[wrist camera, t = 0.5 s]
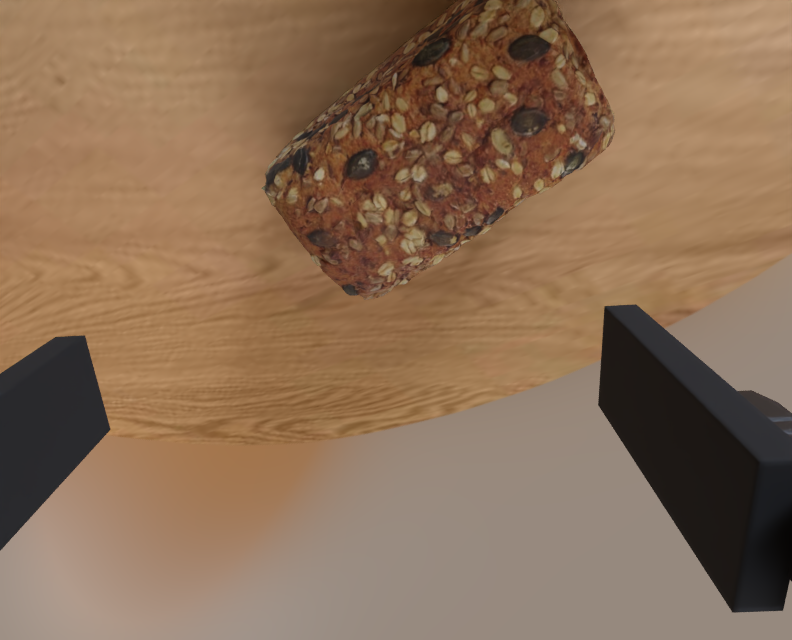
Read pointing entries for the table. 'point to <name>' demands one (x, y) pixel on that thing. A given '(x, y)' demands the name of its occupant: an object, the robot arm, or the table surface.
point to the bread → (441, 142)
